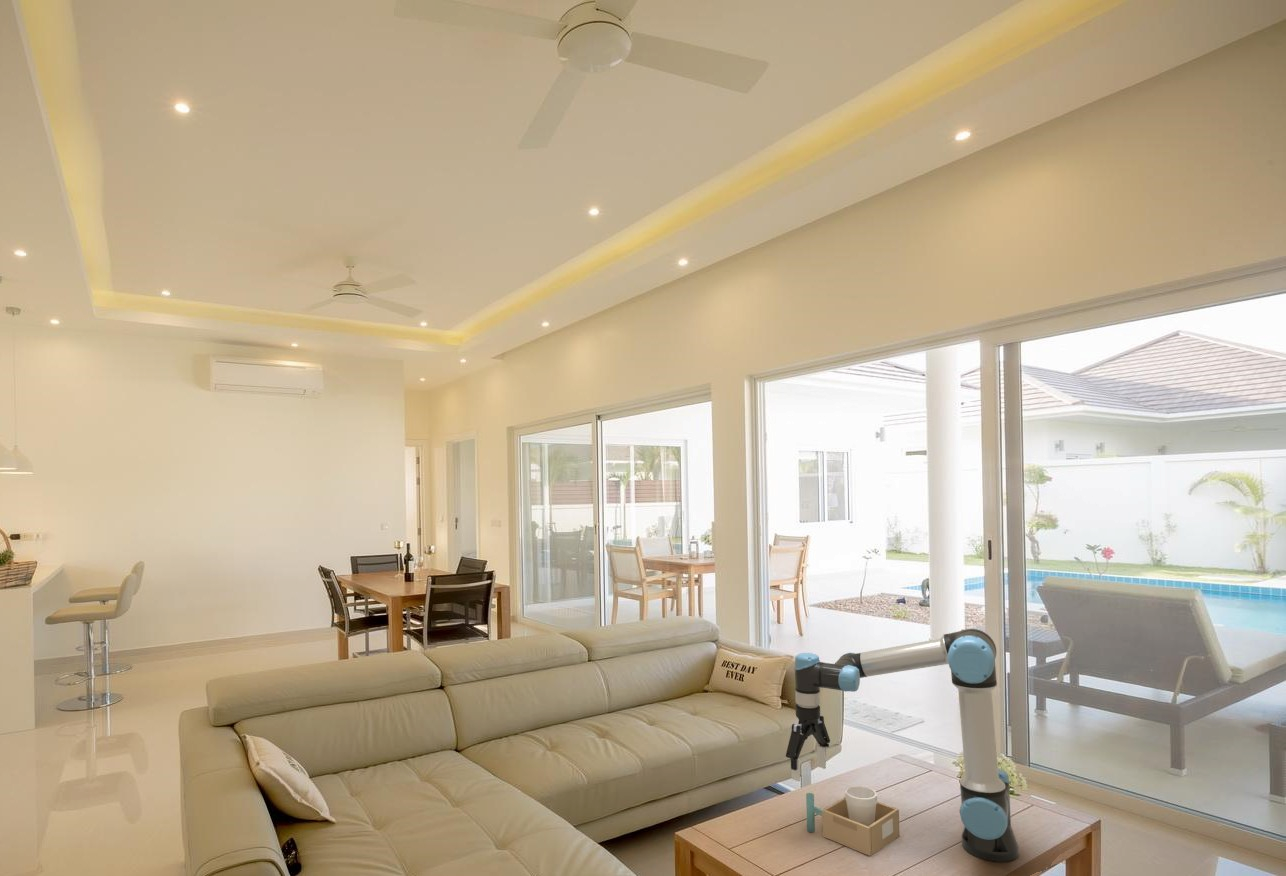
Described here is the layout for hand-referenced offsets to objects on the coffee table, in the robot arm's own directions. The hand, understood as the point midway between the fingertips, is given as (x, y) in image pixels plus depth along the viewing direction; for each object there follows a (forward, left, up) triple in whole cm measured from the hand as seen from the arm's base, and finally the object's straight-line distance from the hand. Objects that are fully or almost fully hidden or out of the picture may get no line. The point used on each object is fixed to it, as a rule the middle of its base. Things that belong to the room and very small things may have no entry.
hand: (808, 773), depth 227 cm
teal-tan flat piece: (-10, 0, -17) cm, 20 cm away
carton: (-13, -9, -18) cm, 23 cm away
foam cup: (-13, -9, -18) cm, 24 cm away
